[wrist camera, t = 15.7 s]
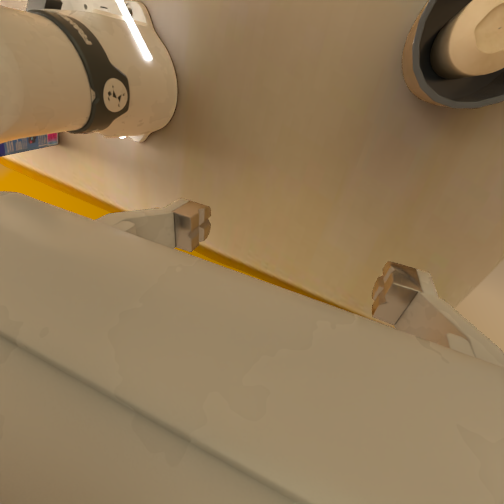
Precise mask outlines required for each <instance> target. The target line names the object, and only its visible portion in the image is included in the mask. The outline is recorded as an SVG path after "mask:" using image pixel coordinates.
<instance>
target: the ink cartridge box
mask: <svg viewBox="0 0 504 504" xmlns="http://www.w3.org/2000/svg"><path fill="white" fill-rule="evenodd" d="M57 144H58V133H52V134H45V135H39V136H33V137H26V138H20V139H16V140H11V141H7V142H4V143H1V144H0V156H5V155H10V154H15V153H20V152H24V151H29V150H34V149H39V148H44V147H49V146H53V145H57Z"/></svg>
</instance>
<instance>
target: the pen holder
mask: <svg viewBox="0 0 504 504" xmlns="http://www.w3.org/2000/svg"><path fill="white" fill-rule="evenodd" d="M471 1H472V0H428V1H427V3H426V4H425V6H424V7H423V9H422V10H421V12H420V13H419V15H418V16H417V18H416V20H415V22H414V24H413V26H412V28H411V30H410V32H409V34H408V36H407V39H406V42H405V45H404V49H403V54H402V73H403V77H404V81H405V83H406V85H407V87H408V88H409V90H410V91H411V92H412V93H413V94H414V95H415V96H416V97H418V98H419V99H420V100H423V101H425V102H428V103H431V104H434V105H439V106H444V107H449V108H463V109H475V108H480V107H484V106H488V105H492V104H495V103H499V102H502V101H504V68H502V69H500V70H498V71H495V72H493V73H489V74H485V75H478V76H471V77H465V78H458V79H446V78H442V77H440V76H439V75H437V74H436V73H435V72H434V70H433V69H432V66H431V63H430V52H431V48H432V45H433V42H434V40H435V38H436V36H437V35H438V33H439V32H440V30H441V29H442V28H443V27H444V26H445V24H446V23H447V22H448V21H450V20H451V19H452V18H453V17H454V16H455V15H456V14H457V13H459V12H460V11H461V10H462V9H463V8H464V7H465V6H467V5H468V4H469V3H470V2H471Z"/></svg>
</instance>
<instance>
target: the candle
mask: <svg viewBox="0 0 504 504" xmlns="http://www.w3.org/2000/svg"><path fill="white" fill-rule="evenodd" d="M430 63H431V66H432V69H433V70H434V72H435V73H436V74H437V75H439V76H440V77H442V78H446V79H458V78H465V77H471V76H478V75H485V74H489V73H493V72H495V71H498V70H500V69H502V68H504V0H472V1H471V2H470V3H469V4H468V5H467V6H465V7H464V8H463V9H462V10H461V11H460V12H459V13H457V14H456V15H455V16H454V17H453V18H452V19H451V20H450V21H448V22H447V23H446V24H445V26H444V27H443V28H442V29H441V30H440V32H439V33H438V35H437V36H436V38H435V40H434V42H433V45H432V48H431V52H430Z"/></svg>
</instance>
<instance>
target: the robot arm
mask: <svg viewBox="0 0 504 504" xmlns="http://www.w3.org/2000/svg"><path fill="white" fill-rule="evenodd" d="M131 11H132V13H133V14H131ZM176 103H177V79H176V74H175V70H174V66H173V63H172V60H171V58H170V56H169V53H168V51H167V50H166V48H165V46H164V44H163V43H162V41H161V40H160V39H159V37H158V36H157V34H156V32H155V30H154V28H153V25H152V22H151V19H150V16H149V13H148V11H147V9H146V7H145V5H144V4H143V3H141V2H137V1H127V0H28V3H27V8H26V12H25V11H21V10H17V9H13V8H8V7H4V6H0V144H1V143H4V142H7V141H11V140H16V139H20V138H26V137H33V136H39V135H45V134H52V133H59V132H65V131H66V132H69V133H74V134H76V133H81V134H82V133H83V134H87V133H94V132H97V133H99V134H101V135H102V136H103V137H105V138H115V137H120V138H126V137H129V138H131V139H132V140H134V141H135V142H143V141H144V140H145V139H146V138H147V137H148V136H149V134H150V133H152V132H154V131H157V130H159V129H161V128H163V127H164V126H165V125H167V123H168V122H169V121H170V119H171V118H172V116H173V114H174V111H175V108H176ZM210 216H211V209H210V207H209V206H206V205H203V204H200V203H197V202H193V201H191V200H187V199H184V198H180V199H178V200H176V201H175V202H173V203H171V204H169V205H167V206H166V207H164V208H162V209H160V208H154V209H145V210H136V211H128V212H119V213H110V214H107V215H105V216H103V217H100V218H98V219H96V220H92V219H89V218H86V217H84V216H81V215H78V214H76V213H73V212H70V211H67V210H64V209H61V208H59V207H56V206H53V205H50V204H48V203H45V202H42V201H40V200H37V199H34V198H32V197H29V196H27V195H24V194H21V193H17V192H0V504H504V353H503V351H502V350H501V349H500V348H499V347H498V346H497V345H495V344H494V343H493V342H492V341H491V340H490V339H488V338H487V337H486V336H485V335H484V334H482V332H480V331H479V330H478V329H477V328H476V327H475V326H473V325H472V324H471V323H470V322H469V321H468V320H467V319H465V318H464V317H463V316H462V315H461V314H460V313H458V312H457V311H456V310H455V309H454V308H453V307H452V306H450V305H449V304H448V303H447V302H446V301H445V300H443V299H441V298H439V297H438V294H437V291H436V288H435V285H434V283H433V280H432V277H431V274H430V273H429V272H426V271H422V270H418V269H415V268H412V267H408V266H405V265H401V264H398V263H394V262H390V261H388V262H387V263H386V264H385V266H384V268H383V275H382V276H380V277H378V278H377V280H376V282H375V285H374V287H373V291H372V299H373V300H374V303H373V305H372V317H374V318H377V319H379V320H382V321H385V322H387V323H390V324H392V325H395V328H396V329H395V328H392V327H389V326H387V325H384V324H381V323H378V322H375V321H373V320H370V319H367V318H364V317H362V316H359V315H356V314H353V313H350V312H348V311H345V310H342V309H339V308H337V307H334V306H331V305H328V304H325V303H323V302H320V301H317V300H314V299H312V298H309V297H306V296H303V295H300V294H298V293H295V292H292V291H289V290H287V289H284V288H281V287H278V286H275V285H273V284H270V283H267V282H264V281H262V280H259V279H256V278H253V277H250V276H247V275H245V274H242V273H239V272H237V271H234V270H231V269H228V268H225V267H223V266H220V265H217V264H214V263H211V262H209V261H206V260H203V259H200V258H198V257H195V256H192V255H189V254H186V253H184V252H181V251H178V250H176V249H173V248H175V247H177V248H180V249H183V250H187V251H189V252H192V251H193V250H194V249H195V248H196V247H197V246H199V242H201V241H204V240H205V239H206V238H207V237H208V235H209V232H210V227H211V224H210V222H209V220H208V218H209V217H210Z"/></svg>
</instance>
